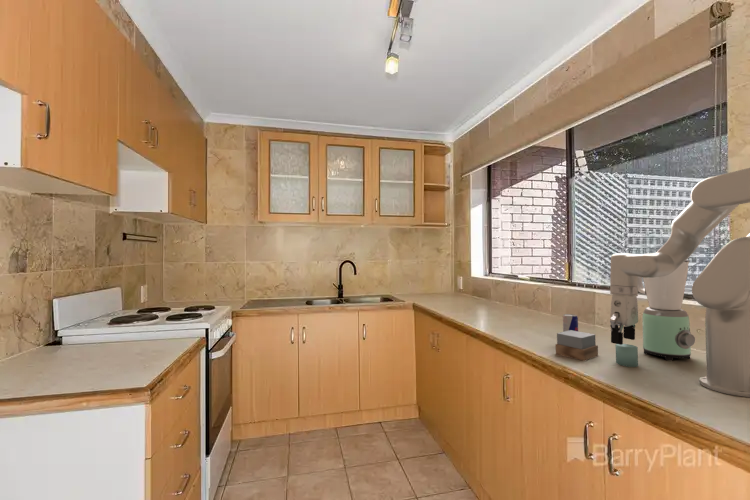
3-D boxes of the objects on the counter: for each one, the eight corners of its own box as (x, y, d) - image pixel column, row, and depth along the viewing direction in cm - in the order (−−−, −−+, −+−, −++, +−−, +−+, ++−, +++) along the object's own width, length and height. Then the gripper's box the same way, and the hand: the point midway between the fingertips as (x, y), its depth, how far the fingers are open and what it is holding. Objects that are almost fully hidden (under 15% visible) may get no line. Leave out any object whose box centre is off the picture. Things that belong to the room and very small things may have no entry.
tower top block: (595, 345, 125) (595, 334, 125) (582, 349, 121) (581, 338, 121) (570, 340, 133) (570, 330, 133) (557, 344, 128) (556, 333, 128)
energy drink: (580, 346, 137) (579, 316, 137) (566, 346, 138) (565, 316, 138) (575, 343, 142) (575, 314, 142) (561, 342, 143) (560, 313, 143)
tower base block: (598, 356, 125) (597, 345, 125) (584, 362, 120) (584, 350, 120) (569, 350, 133) (569, 340, 134) (555, 355, 128) (555, 344, 128)
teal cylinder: (641, 364, 114) (640, 346, 115) (633, 368, 111) (633, 349, 111) (620, 360, 119) (619, 342, 120) (612, 363, 116) (612, 345, 116)
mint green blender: (708, 361, 116) (704, 257, 117) (676, 364, 113) (673, 258, 114) (651, 346, 135) (649, 257, 135) (623, 349, 132) (621, 257, 132)
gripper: (626, 294, 108) (625, 348, 108) (647, 289, 118) (646, 339, 118) (599, 291, 114) (598, 342, 114) (621, 287, 124) (621, 334, 124)
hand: (623, 341), depth 116 cm, fingers open, 9 cm apart
